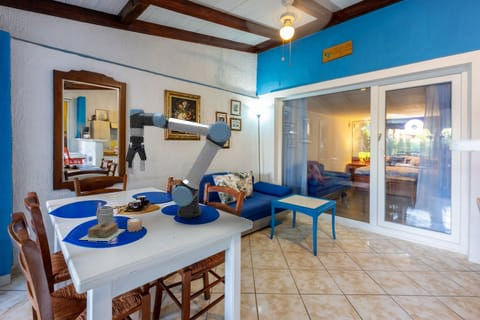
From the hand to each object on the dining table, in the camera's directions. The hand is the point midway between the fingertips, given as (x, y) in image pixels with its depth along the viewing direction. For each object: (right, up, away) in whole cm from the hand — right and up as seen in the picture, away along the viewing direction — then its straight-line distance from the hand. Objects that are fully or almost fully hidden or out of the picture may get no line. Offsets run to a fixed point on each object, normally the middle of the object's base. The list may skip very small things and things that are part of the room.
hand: (136, 172), depth 130 cm
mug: (-15, -29, -7) cm, 33 cm away
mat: (-7, -30, -21) cm, 37 cm away
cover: (-7, -29, -21) cm, 37 cm away
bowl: (+5, -30, -12) cm, 32 cm away
